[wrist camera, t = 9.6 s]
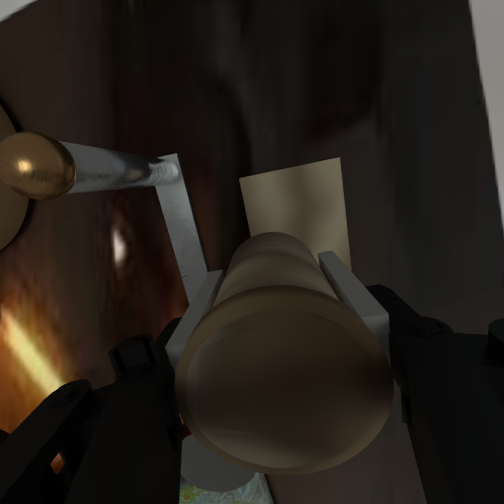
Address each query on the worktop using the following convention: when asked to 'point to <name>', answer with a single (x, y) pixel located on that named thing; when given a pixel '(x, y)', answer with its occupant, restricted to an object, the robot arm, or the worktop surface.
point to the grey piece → (108, 186)
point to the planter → (9, 195)
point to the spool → (282, 366)
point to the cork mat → (301, 206)
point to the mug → (209, 467)
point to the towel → (228, 493)
